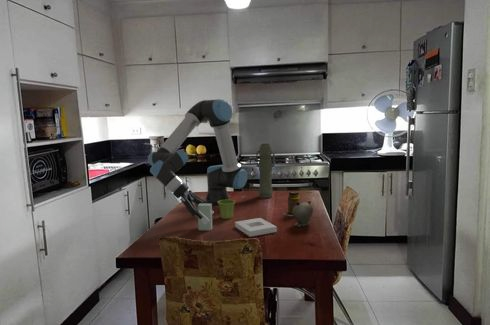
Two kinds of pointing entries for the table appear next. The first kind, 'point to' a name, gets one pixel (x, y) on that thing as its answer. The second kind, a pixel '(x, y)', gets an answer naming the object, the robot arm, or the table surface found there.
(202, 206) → the key block
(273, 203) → the table surface
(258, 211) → the table surface
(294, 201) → the condiment
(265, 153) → the thermos
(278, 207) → the table surface
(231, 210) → the plant pot
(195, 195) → the robot arm
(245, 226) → the socket plate
